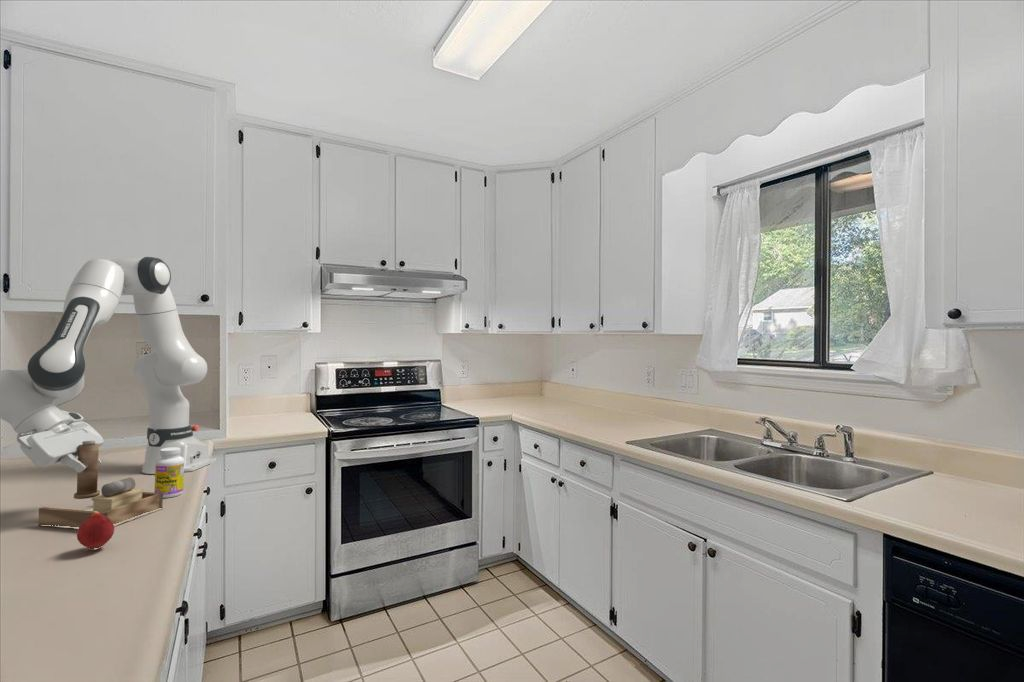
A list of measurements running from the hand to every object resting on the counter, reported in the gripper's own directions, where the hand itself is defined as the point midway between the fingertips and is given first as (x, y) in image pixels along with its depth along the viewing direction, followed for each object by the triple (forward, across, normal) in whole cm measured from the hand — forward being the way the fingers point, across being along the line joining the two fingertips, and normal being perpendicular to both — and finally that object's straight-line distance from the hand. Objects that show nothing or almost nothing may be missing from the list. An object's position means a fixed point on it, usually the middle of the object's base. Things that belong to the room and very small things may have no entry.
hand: (91, 467), depth 123 cm
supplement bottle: (+16, +16, +1) cm, 22 cm away
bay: (+11, -1, +6) cm, 12 cm away
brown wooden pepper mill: (+4, 0, +5) cm, 7 cm away
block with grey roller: (+14, -3, +3) cm, 14 cm away
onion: (+18, -22, -1) cm, 29 cm away
